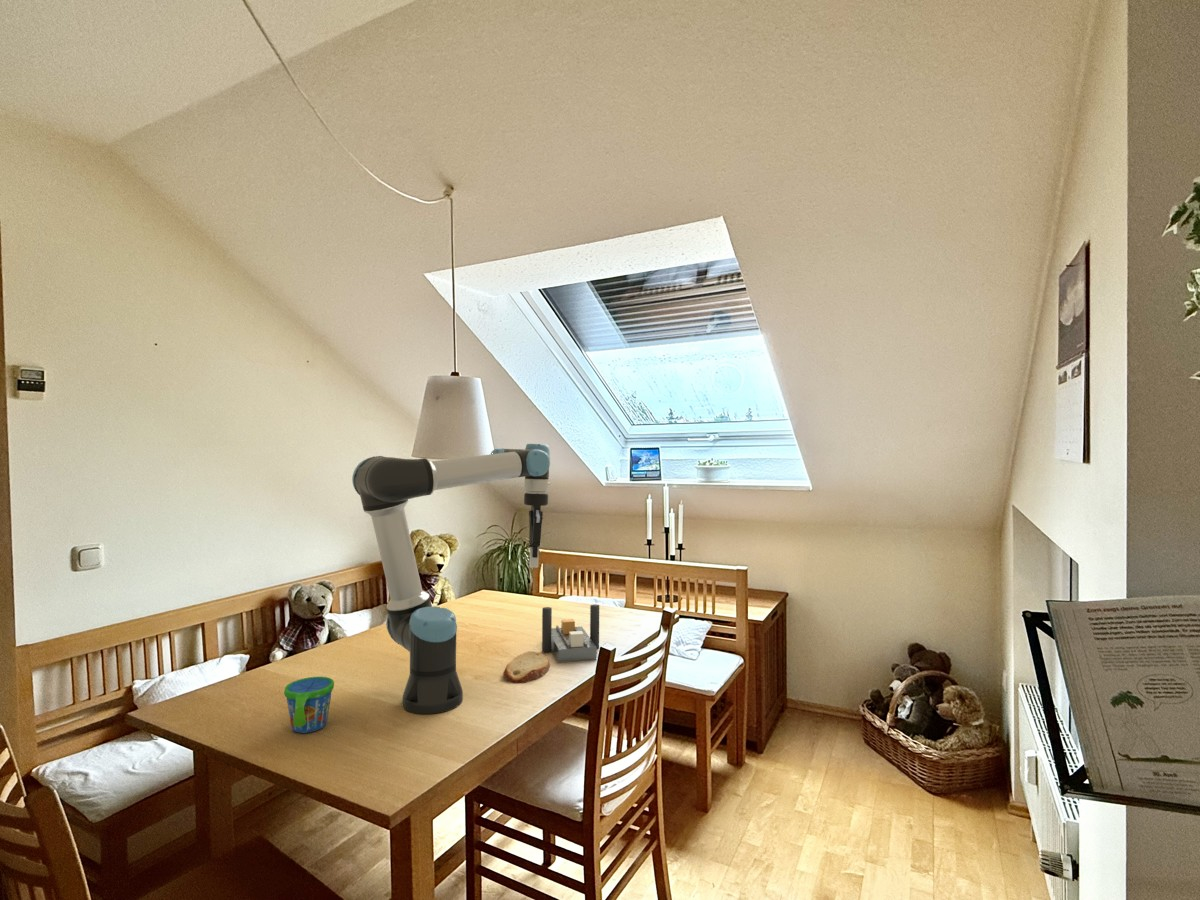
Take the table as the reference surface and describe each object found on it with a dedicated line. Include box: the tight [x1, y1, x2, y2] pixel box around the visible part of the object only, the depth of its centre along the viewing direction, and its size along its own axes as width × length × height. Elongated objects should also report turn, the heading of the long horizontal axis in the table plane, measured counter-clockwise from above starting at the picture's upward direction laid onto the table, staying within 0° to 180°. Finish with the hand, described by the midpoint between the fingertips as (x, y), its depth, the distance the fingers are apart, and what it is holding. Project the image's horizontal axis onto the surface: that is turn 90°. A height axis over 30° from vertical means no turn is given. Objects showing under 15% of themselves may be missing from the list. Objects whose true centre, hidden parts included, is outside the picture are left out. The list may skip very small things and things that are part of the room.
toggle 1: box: [560, 618, 576, 634], centre depth 205 cm, size 3×4×4 cm
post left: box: [541, 606, 553, 654], centre depth 198 cm, size 3×3×14 cm
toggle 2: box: [569, 631, 584, 647], centre depth 192 cm, size 3×4×4 cm
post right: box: [589, 604, 600, 650], centre depth 202 cm, size 3×3×14 cm
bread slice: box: [502, 650, 551, 684], centre depth 183 cm, size 18×18×4 cm
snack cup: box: [283, 676, 335, 734], centre depth 144 cm, size 16×10×10 cm
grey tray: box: [551, 625, 598, 663], centre depth 200 cm, size 22×12×5 cm, turn 14°
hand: (533, 567), depth 193 cm, fingers closed
